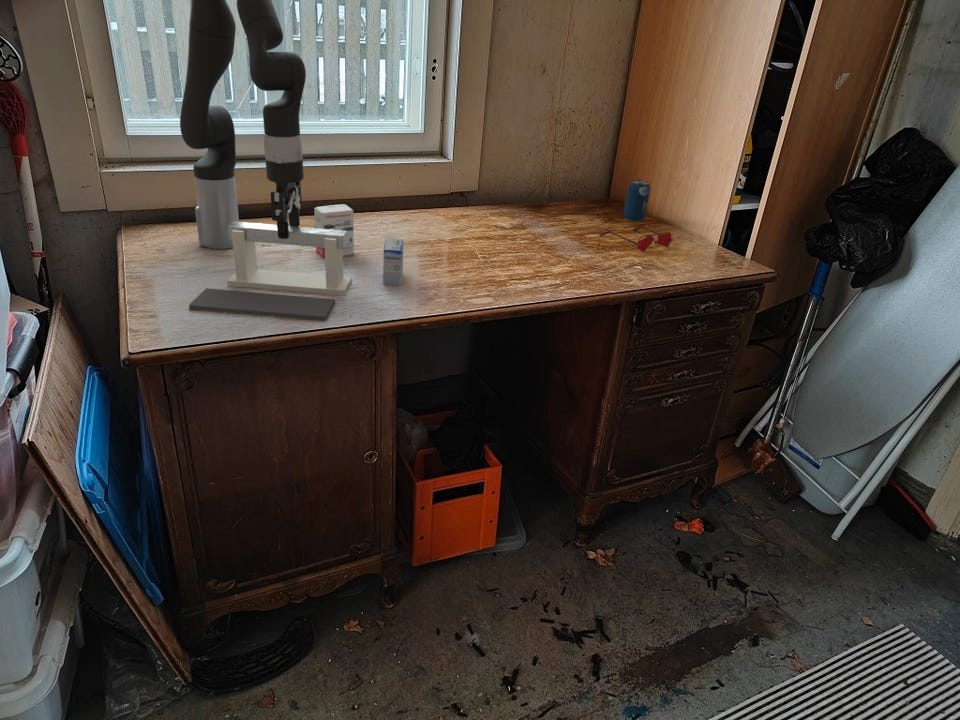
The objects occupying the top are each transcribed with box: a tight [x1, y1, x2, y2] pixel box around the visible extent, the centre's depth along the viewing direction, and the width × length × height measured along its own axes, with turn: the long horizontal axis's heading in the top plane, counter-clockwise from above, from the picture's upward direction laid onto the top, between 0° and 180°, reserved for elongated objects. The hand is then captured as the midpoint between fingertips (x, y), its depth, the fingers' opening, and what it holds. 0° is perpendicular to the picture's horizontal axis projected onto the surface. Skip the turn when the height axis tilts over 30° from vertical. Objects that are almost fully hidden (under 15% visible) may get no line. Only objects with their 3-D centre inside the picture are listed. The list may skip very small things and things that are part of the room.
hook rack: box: [227, 221, 353, 296], centre depth 153 cm, size 26×8×12 cm, turn 88°
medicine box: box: [382, 238, 404, 286], centre depth 161 cm, size 8×4×9 cm, turn 5°
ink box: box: [313, 203, 355, 259], centre depth 173 cm, size 8×5×12 cm, turn 123°
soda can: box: [623, 179, 651, 223], centre depth 220 cm, size 7×7×12 cm
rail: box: [228, 221, 347, 249], centre depth 151 cm, size 25×4×3 cm, turn 88°
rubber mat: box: [188, 287, 336, 322], centre depth 144 cm, size 28×9×1 cm, turn 88°
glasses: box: [599, 226, 674, 252], centre depth 202 cm, size 14×16×5 cm
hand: (289, 232), depth 150 cm, fingers open, 8 cm apart
